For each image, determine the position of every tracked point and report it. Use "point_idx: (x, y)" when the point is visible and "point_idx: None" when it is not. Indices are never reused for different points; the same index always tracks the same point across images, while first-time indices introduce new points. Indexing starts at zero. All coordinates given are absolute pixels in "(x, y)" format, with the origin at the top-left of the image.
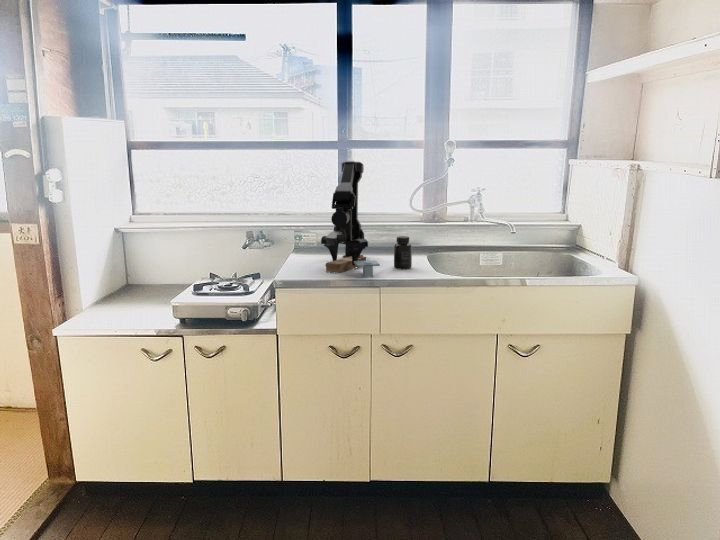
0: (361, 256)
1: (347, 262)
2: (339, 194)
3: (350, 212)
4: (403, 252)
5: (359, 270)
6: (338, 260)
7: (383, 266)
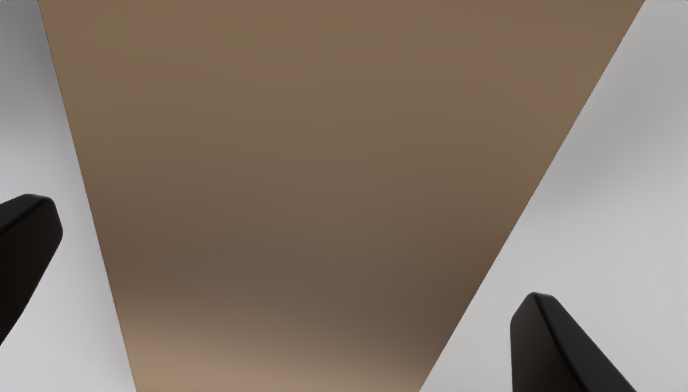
0: None
1: (102, 215)
2: None
3: None
4: None
5: (25, 176)
6: (395, 284)
7: (21, 387)
